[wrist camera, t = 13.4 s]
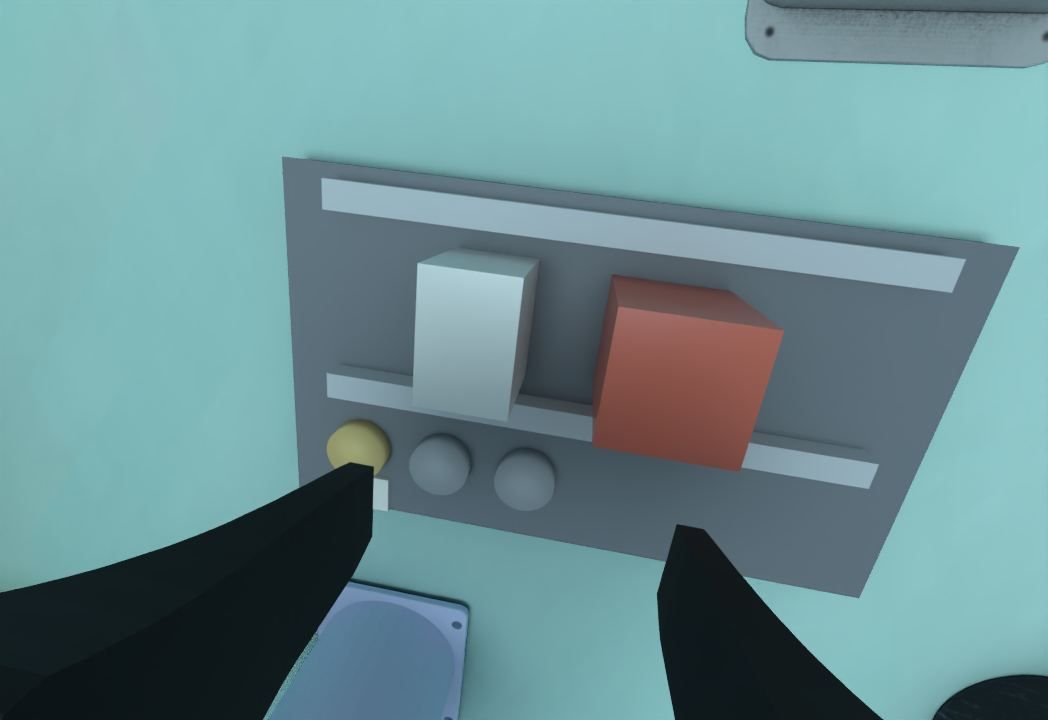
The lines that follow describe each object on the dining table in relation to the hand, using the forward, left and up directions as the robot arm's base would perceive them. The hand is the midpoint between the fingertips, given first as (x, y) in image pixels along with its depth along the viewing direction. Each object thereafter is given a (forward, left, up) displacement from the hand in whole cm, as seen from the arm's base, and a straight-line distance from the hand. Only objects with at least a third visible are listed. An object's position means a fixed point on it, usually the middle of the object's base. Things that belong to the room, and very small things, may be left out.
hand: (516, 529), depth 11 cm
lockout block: (+3, -4, -8) cm, 9 cm away
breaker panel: (+1, -2, -9) cm, 9 cm away
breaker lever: (+3, +2, -8) cm, 9 cm away
